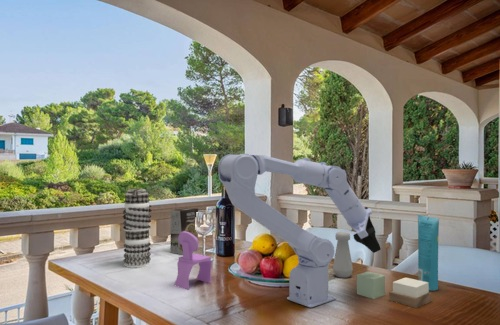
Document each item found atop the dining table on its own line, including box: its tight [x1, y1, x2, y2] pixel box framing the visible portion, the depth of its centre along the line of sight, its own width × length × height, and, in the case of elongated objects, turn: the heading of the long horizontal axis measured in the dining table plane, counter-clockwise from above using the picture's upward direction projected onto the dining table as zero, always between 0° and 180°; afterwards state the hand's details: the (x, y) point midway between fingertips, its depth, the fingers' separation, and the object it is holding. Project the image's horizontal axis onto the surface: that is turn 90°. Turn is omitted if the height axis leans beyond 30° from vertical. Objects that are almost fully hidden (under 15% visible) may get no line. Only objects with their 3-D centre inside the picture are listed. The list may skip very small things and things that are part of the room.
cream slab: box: [392, 277, 430, 298], centre depth 100 cm, size 6×6×2 cm
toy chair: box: [173, 231, 213, 291], centre depth 114 cm, size 8×9×15 cm
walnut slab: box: [388, 290, 432, 309], centre depth 100 cm, size 7×7×2 cm
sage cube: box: [356, 271, 386, 300], centre depth 105 cm, size 5×5×5 cm
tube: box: [417, 214, 440, 291], centre depth 109 cm, size 7×5×19 cm, turn 26°
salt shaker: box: [332, 231, 354, 279], centre depth 121 cm, size 6×6×13 cm
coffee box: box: [170, 207, 199, 255], centre depth 155 cm, size 9×6×16 cm
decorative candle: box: [122, 188, 153, 268], centre depth 135 cm, size 9×9×25 cm
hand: (374, 242), depth 109 cm, fingers open, 7 cm apart
